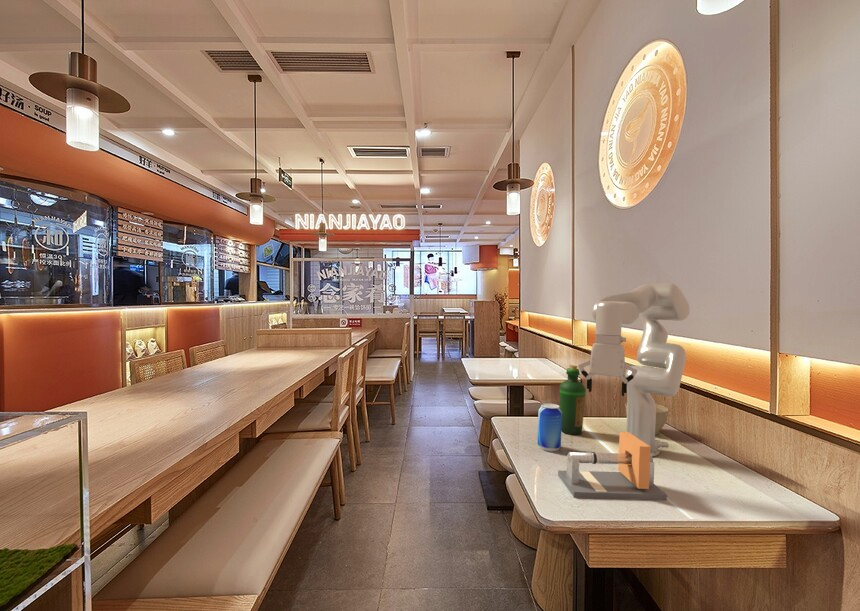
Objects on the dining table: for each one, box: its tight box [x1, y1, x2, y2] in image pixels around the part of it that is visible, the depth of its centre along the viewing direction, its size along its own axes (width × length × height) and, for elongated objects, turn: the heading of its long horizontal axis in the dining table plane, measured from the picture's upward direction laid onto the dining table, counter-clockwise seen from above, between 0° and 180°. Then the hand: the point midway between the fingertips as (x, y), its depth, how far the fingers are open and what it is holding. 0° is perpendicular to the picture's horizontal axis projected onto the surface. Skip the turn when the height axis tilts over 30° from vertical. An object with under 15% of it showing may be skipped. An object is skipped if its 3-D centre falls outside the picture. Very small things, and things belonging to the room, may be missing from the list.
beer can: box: [537, 402, 562, 452], centre depth 148 cm, size 8×8×16 cm
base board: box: [557, 469, 668, 500], centre depth 118 cm, size 26×14×2 cm, turn 90°
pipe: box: [566, 451, 655, 486], centre depth 118 cm, size 24×4×9 cm, turn 90°
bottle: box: [559, 364, 587, 436], centre depth 167 cm, size 11×11×28 cm
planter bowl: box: [624, 402, 669, 436], centre depth 170 cm, size 16×16×11 cm
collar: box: [617, 431, 650, 489], centre depth 118 cm, size 3×12×12 cm, turn 0°
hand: (606, 393), depth 128 cm, fingers open, 9 cm apart
